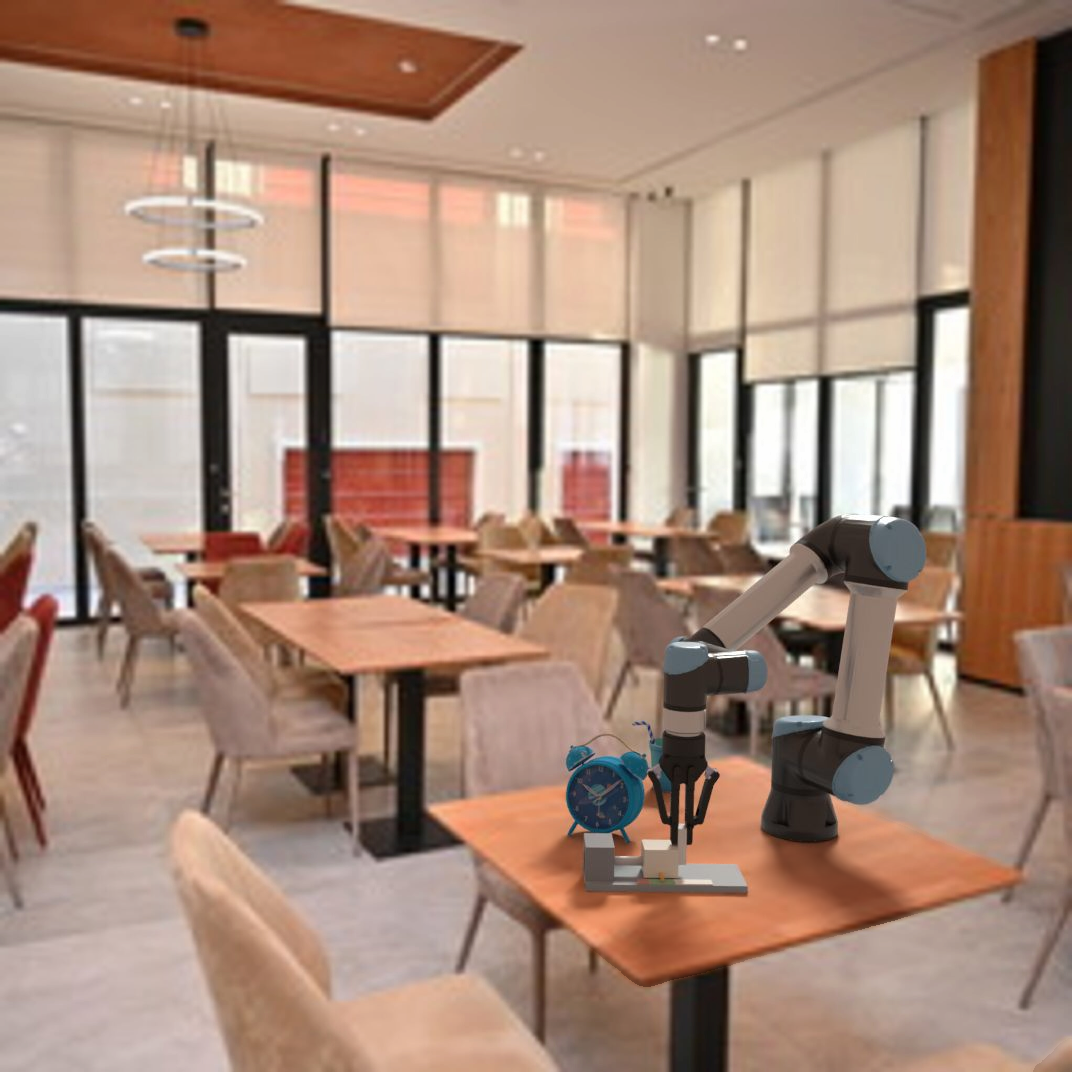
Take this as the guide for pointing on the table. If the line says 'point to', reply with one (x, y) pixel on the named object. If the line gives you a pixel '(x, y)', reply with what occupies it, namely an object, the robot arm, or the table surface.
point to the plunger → (654, 859)
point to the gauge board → (631, 879)
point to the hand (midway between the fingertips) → (680, 862)
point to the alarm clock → (605, 789)
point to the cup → (656, 756)
